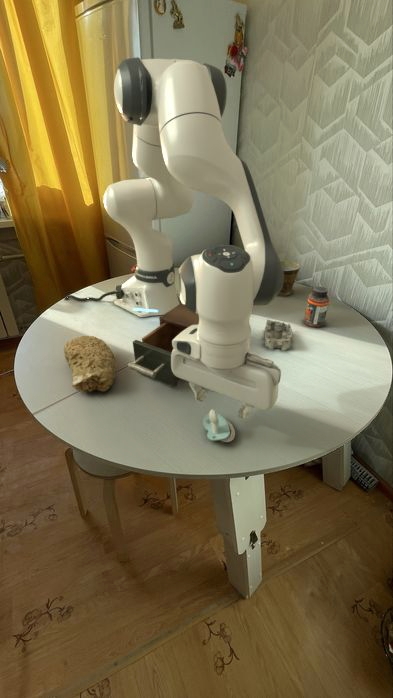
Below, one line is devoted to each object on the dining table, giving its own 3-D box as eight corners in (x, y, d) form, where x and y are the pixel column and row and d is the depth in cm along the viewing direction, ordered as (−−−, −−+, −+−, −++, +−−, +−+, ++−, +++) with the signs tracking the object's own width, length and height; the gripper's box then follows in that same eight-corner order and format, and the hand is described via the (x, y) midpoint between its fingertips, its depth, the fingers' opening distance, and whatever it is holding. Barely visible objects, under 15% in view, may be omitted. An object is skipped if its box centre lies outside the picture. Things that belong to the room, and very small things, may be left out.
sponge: (121, 394, 83) (117, 337, 97) (110, 374, 77) (108, 316, 91) (66, 408, 83) (71, 348, 96) (51, 388, 77) (58, 328, 91)
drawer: (162, 399, 78) (159, 367, 73) (123, 382, 83) (118, 351, 79) (206, 356, 92) (206, 327, 87) (170, 344, 97) (168, 316, 92)
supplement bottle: (300, 319, 110) (306, 285, 103) (317, 317, 111) (324, 283, 104) (309, 329, 105) (316, 294, 98) (327, 326, 106) (335, 291, 100)
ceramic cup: (295, 287, 130) (299, 261, 124) (295, 299, 122) (300, 271, 116) (260, 284, 132) (262, 258, 127) (257, 295, 124) (260, 268, 119)
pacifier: (228, 417, 75) (200, 422, 73) (230, 395, 71) (201, 399, 70) (239, 444, 69) (210, 449, 68) (242, 420, 65) (211, 425, 64)
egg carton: (290, 352, 95) (292, 339, 92) (261, 348, 96) (263, 335, 94) (291, 332, 103) (293, 320, 101) (265, 329, 105) (267, 317, 103)
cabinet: (201, 366, 90) (201, 330, 84) (162, 352, 95) (159, 317, 90) (230, 338, 101) (231, 305, 95) (192, 327, 106) (192, 295, 100)
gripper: (289, 354, 57) (279, 417, 65) (184, 323, 66) (186, 381, 74) (274, 375, 53) (266, 439, 60) (164, 338, 62) (168, 398, 69)
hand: (221, 407), depth 67 cm, fingers open, 8 cm apart
